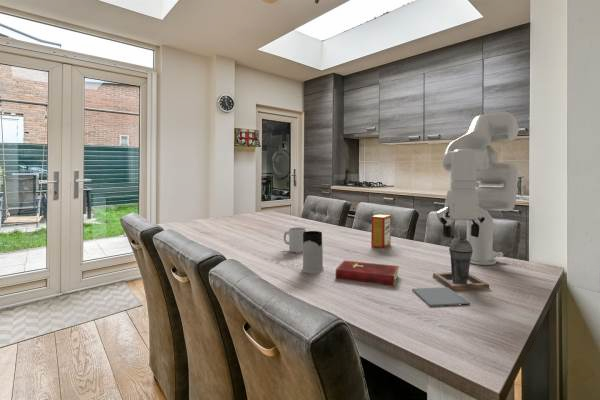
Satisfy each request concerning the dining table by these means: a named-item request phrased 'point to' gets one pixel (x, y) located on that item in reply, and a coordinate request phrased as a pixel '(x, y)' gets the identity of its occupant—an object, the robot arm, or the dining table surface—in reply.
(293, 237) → the mug
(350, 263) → the hardcover book
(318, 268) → the glass holder
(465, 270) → the beverage cup
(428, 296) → the slate mat
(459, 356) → the dining table surface
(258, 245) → the dining table surface
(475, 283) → the frame
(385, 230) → the baking soda box
